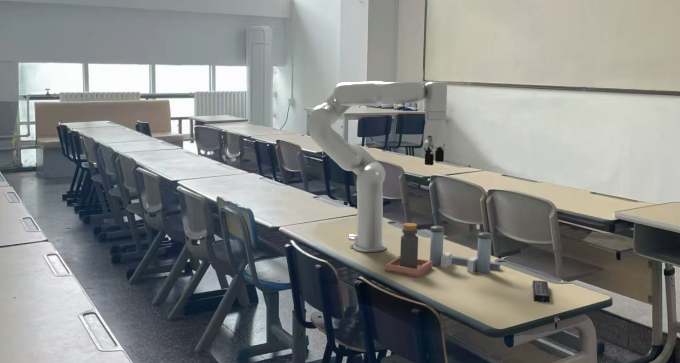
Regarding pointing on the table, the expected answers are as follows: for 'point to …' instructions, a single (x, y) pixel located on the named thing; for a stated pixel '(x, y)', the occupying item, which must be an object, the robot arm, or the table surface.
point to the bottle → (409, 246)
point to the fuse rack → (474, 263)
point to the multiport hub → (541, 291)
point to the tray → (396, 268)
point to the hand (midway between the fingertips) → (434, 163)
